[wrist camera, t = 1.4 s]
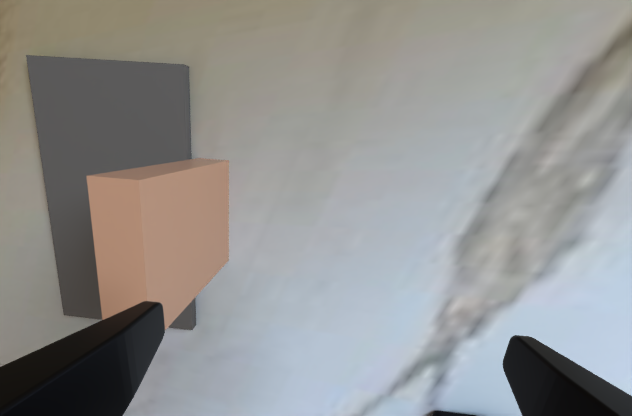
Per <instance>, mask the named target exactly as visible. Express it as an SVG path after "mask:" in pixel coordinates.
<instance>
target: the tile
mask: <svg viewBox="0 0 632 416" xmlns="http://www.w3.org/2000/svg"><path fill="white" fill-rule="evenodd" d="M86 177H87V185H88V194H89V203H90V212H91V221H92V230H93V239H94V248H95V257H96V266H97V275H98V284H99V293H100V302H101V311H102V320H104V319H106V318H109V317H111V316H113V315H115V314H117V313H119V312H122V311H124V310H126V309H128V308H130V307H133V306H135V305H137V304H139V303H141V302H144V301H153V302H160V303H161V304H162V305H163V312H164V323H165V330H166V329H167V328H168V327H169V326H170V325H171V324H172V322H173V321H174V320H175V319H176V318H177V317H178V316H179V315H180V314H181V312H182V311H183V310H184V309H185V308H186V307H187V306H188V305H189V304H190V303H191V301H192V300H193V299H194V298H195V297H196V296H197V295H198V294H199V293H200V291H201V290H202V289H203V288H204V287H205V286H206V285H207V284H208V283H209V282H210V280H211V279H212V278H213V277H214V276H215V275H216V274H217V273H218V272H219V270H220V269H221V268H222V267H223V266H224V265H225V264H226V263H227V262H228V261H229V160H216V159H204V158H197V159H190V160H184V161H177V162H171V163H165V164H158V165H152V166H145V167H139V168H133V169H126V170H120V171H113V172H107V173H100V174H94V175H88V176H86Z"/></svg>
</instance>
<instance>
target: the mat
mask: <svg viewBox="0 0 632 416" xmlns="http://www.w3.org/2000/svg"><path fill="white" fill-rule="evenodd" d="M26 57H27V64H28V71H29V78H30V85H31V92H32V98H33V105H34V112H35V119H36V126H37V133H38V140H39V147H40V154H41V161H42V167H43V174H44V181H45V188H46V195H47V202H48V209H49V216H50V223H51V229H52V236H53V243H54V250H55V257H56V264H57V271H58V278H59V285H60V292H61V298H62V305H63V312H64V315H68V316H77V317H85V318H94V319H102V311H101V302H100V293H99V284H98V275H97V266H96V257H95V248H94V239H93V230H92V221H91V212H90V203H89V194H88V185H87V177H86V176H88V175H94V174H100V173H107V172H113V171H120V170H126V169H133V168H139V167H145V166H152V165H158V164H165V163H171V162H177V161H184V160H190V159H191V130H190V94H189V67H188V66H186V65H183V64H166V63H149V62H132V61H115V60H98V59H81V58H64V57H48V56H31V55H26ZM195 326H196V309H195V298H194V299H193V300H192V301H191V303H190V304H189V305H188V306H187V307H186V308H185V309H184V310H183V311H182V312H181V314H180V315H179V316H178V317H177V318H176V319H175V320H174V321H173V322H172V324H171V325H170V326H169V327H170V328H179V329H187V330H193V328H194V327H195Z"/></svg>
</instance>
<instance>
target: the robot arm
mask: <svg viewBox="0 0 632 416" xmlns="http://www.w3.org/2000/svg"><path fill="white" fill-rule="evenodd" d="M164 333H165V323H164V312H163V305H162V304H161V303H160V302H153V301H144V302H141V303H139V304H137V305H135V306H133V307H130V308H128V309H126V310H124V311H122V312H119V313H117V314H115V315H113V316H111V317H109V318H106V319H104V320H102V321H100V322H98V323H95V324H93V325H91V326H89V327H87V328H85V329H82V330H80V331H78V332H76V333H74V334H71V335H69V336H67V337H65V338H63V339H61V340H58V341H56V342H54V343H52V344H50V345H47V346H45V347H43V348H41V349H39V350H37V351H34V352H32V353H30V354H28V355H26V356H23V357H21V358H19V359H17V360H15V361H13V362H10V363H8V364H6V365H4V366H2V367H0V416H123V414H124V412H125V411H126V409H127V407H128V406H129V404H130V402H131V401H132V399H133V397H134V395H135V393H136V391H137V390H138V388H139V386H140V384H141V382H142V380H143V378H144V376H145V374H146V371H147V369H148V367H149V365H150V363H151V361H152V359H153V357H154V355H155V353H156V351H157V349H158V347H159V345H160V343H161V341H162V339H163V336H164ZM503 369H504V372H505V375H506V377H507V379H508V382H509V384H510V387H511V389H512V392H513V394H514V396H515V399H516V401H517V404H518V406H519V408H520V411H521V413H522V416H632V396H631V395H629V394H627V393H625V392H624V391H622V390H620V389H619V388H617V387H615V386H614V385H612V384H610V383H609V382H607V381H605V380H603V379H602V378H600V377H598V376H597V375H595V374H593V373H592V372H590V371H588V370H587V369H585V368H583V367H581V366H580V365H578V364H576V363H575V362H573V361H571V360H570V359H568V358H566V357H565V356H563V355H561V354H559V353H558V352H556V351H554V350H553V349H551V348H549V347H548V346H546V345H544V344H542V343H541V342H539V341H537V340H536V339H534V338H532V337H529V336H518V335H515V336H513V337H512V338H511V339H510V341H509V344H508V347H507V350H506V353H505V356H504V359H503ZM433 416H474V415H466V414H459V413H451V412H443V411H437V412H435V413H434V414H433Z"/></svg>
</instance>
